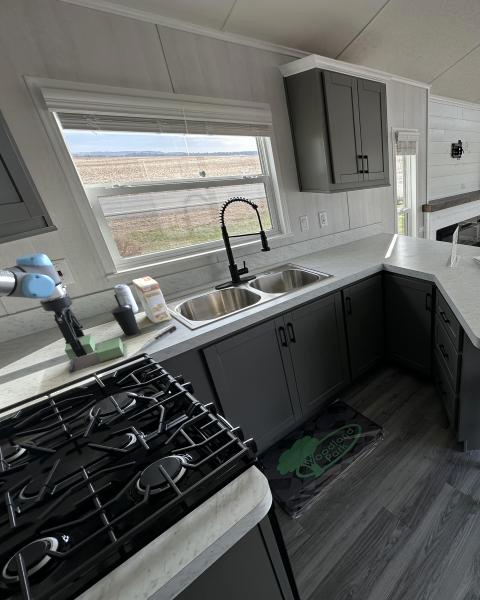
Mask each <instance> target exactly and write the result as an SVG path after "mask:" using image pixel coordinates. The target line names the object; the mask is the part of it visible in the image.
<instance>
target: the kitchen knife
mask: <svg viewBox="0 0 480 600" xmlns="http://www.w3.org/2000/svg"><path fill="white" fill-rule="evenodd" d="M175 330H177V327H176V325H173V326H171V327H170V328H168V329H166V330H165V331H163V332H162V333H161V334H159V335H157V336H156V337H155V338H152V340H150V341H149V342H147V343H145V344H144V345H143V346H142V347H141V349H144V348H145V347H147V346H148V345H150V344H151V343H152V342H154V341H156V340H158V339H160V338H162V337H163V336H165V335H166V334H168V333H169V334H170V333H172V332H174V331H175Z"/></svg>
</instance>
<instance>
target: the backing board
mask: <svg viewBox="0 0 480 600" xmlns="http://www.w3.org/2000/svg"><path fill="white" fill-rule="evenodd" d="M122 344H123V355H122V356H118V357H115V358H112V359H109V360H105V361H102V362H101V361H100V359H99V357H98V355H97V351H94V352H93V353H90V354H87V355H84V356H81V357H76V358H73V359H70V363H69V367H68V372H69V374H72V373H76V372H79V371H82V370H85V369H88V368H93V367H95V366H98V365H102V364H105V363H109V362H111V361H115V360H117V359H121V358H124V357H125V343H122Z"/></svg>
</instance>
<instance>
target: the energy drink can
mask: <svg viewBox="0 0 480 600" xmlns="http://www.w3.org/2000/svg"><path fill="white" fill-rule="evenodd" d="M113 288H114V289H113V292H114V295H116V296H117V298H118V300H119V302H120V305H123V304H130V305H132V309H133V313H134V314H136V313H137V312H138V311H139V307H138V305H137V303H136V300H135V297H134V295H133V293H132V291H131V288H130V286H128V285H127V284H126V283H122V284H121V283H120V284H117V285H114V287H113Z"/></svg>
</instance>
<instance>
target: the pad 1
mask: <svg viewBox="0 0 480 600" xmlns="http://www.w3.org/2000/svg"><path fill="white" fill-rule="evenodd" d="M77 339H79V340H80V342H81V344H82V346H83V348H84V350H85V351H86V353H87V355H88V354H91V353H95V352H96V350H95V349H96V343H97V342H96V340H95V338H94V337H93V334H92V333H90V334H85V336H82V337H78V338H77ZM64 352H65V354H66V356H67V357H68V359H69V360H71V359H73V358H77V356H76V354H75V353H74V351H73V349H72V347H71V346H70V344H66V343H65V349H64Z"/></svg>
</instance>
